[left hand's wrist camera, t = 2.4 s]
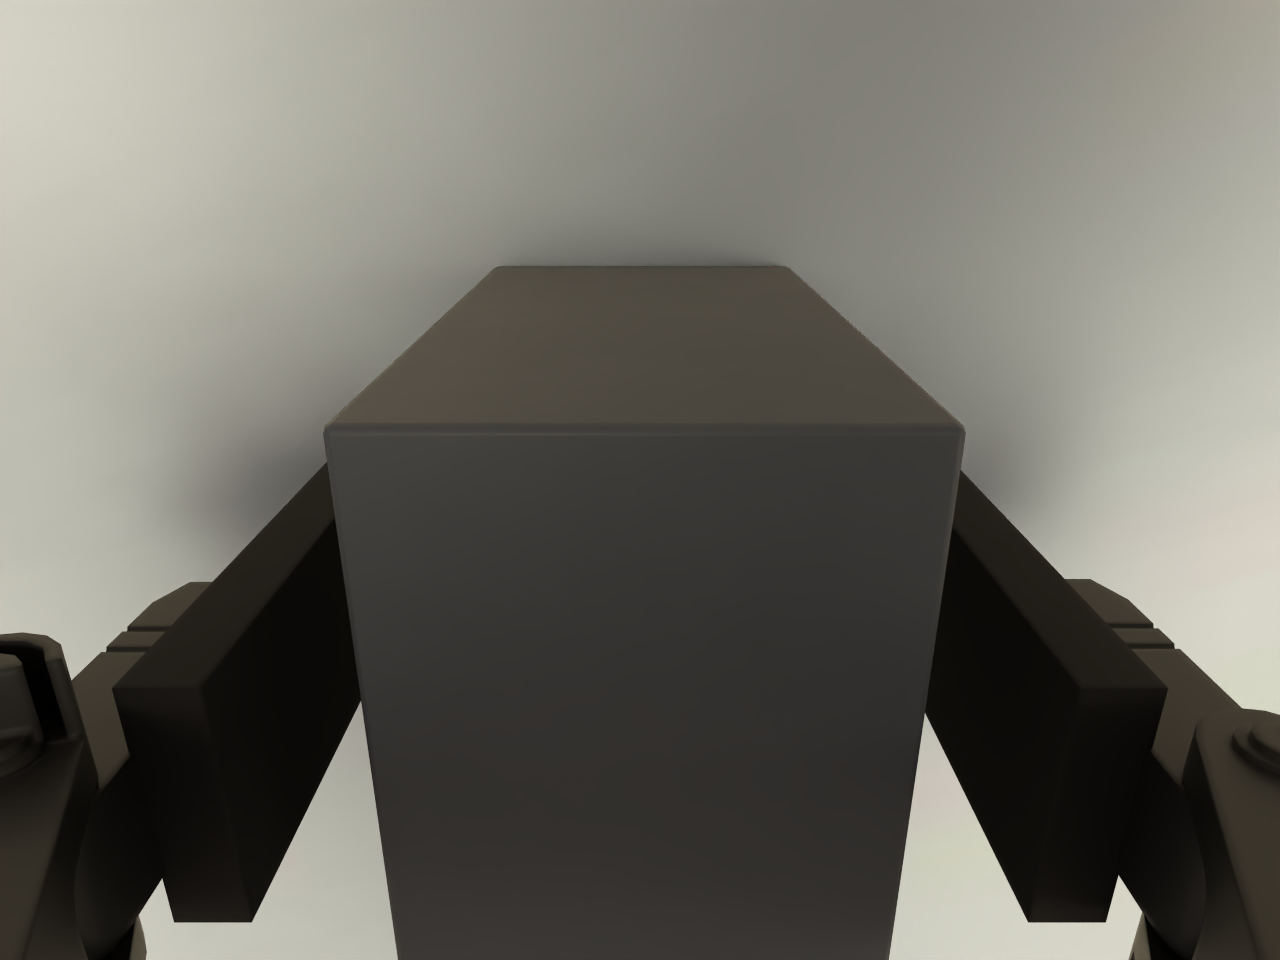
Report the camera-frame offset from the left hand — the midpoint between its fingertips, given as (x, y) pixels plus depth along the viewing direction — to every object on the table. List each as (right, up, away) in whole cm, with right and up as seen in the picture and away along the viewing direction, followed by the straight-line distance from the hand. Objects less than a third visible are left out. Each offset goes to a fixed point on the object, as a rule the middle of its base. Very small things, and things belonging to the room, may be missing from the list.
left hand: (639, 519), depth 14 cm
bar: (0, -6, +4) cm, 7 cm away
